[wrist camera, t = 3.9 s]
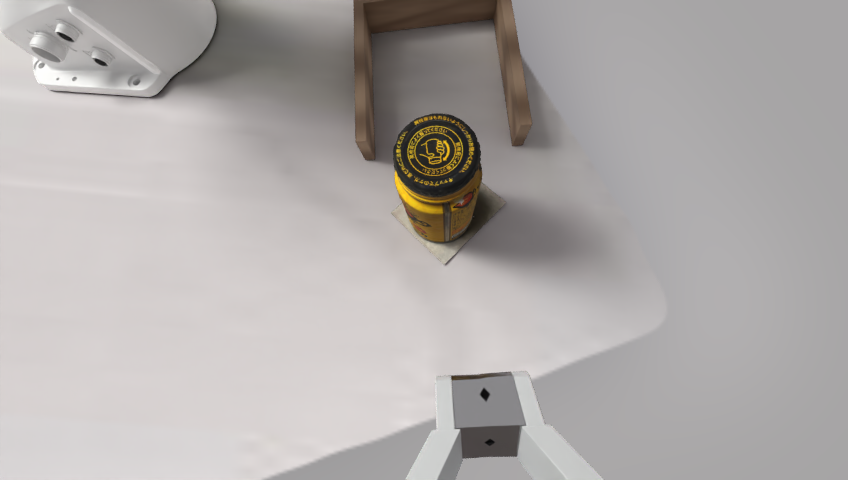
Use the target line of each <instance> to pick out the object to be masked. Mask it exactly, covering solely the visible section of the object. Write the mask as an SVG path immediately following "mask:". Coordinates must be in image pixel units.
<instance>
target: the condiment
mask: <svg viewBox="0 0 848 480" xmlns="http://www.w3.org/2000/svg"><path fill="white" fill-rule="evenodd" d="M480 155H481V151H480V145H479V142H478V141H477V137H476V135H475V133H474V131H473V130H472V129H471V128H470V127H469V126H468V125H467V124H465V123H464V122H463V121H462V120H460V119H458V118H456V117H454V116H452V115H447V114H430V115H426V116H423V117H420V118H417V119H415V120H414V121H412V122H411V123H410V124H408V125H407V126H406V127H405V128H404V129H403V130H402V131H401V132H400V134H399V135H398V139H397V142H396V144H395V146H394V149H393V157H394V158H393V160H394V167H395V184H396V188H397V191H398V193H399V196H400V199H401V200H402V203H401V204H400V205H399V206H398V207H397V208H396V209H395V210H394V211H393V212H391V214H392V215H393V216H395V218H397V219H398V220H399V222H401V223H402V224H403V225H404V226H405V227H406V228H407V229H408V230H409V231H410V232H411V233H412V234H413V235H414V236H415V237H416V238H417V239H418V240H419V241H420V242H421V243H422V244H423V245H424V246H425V247H426V248H427V249H428V250H429V251H430V252H431V253H432V254H433V255H434V256H435V257H436V258H437V259H438V260H439V261H440V262H441V263H442V264H443V265H444V264H445V263H446V262H447V261H448V260H449V259H450V258H451V257H452V256H453V255H454V254H455V253H456V252H457V251H458V250H459V249H460V248H461V247H462V246H463V245H464V244H465V243H466V242H467V241H468V240H469V239H470V238H471V237H472V236H473V235H474V234H475V233H476V232H477V231H478V230H479V229H480V228H481V227H482V226H483V225H484V224H485V223H486V222H487V221H488V220H489V219H490V218H491V217H492V216H493V215H494V214H495V213H496V212H497V211H498V210H499V209H500V208H501V207H502V206H503V205H504V204H505V203H506V202H505V201H504V200H503V199H501V198H500V197H499V196H497V195H496V194H495V193H494V192H493V191H491V190H490V189H489V188H488V187H487V186H486V185H484V184H483V183H482V182H481V181H482V168H481V164H480V160H481V158H480ZM473 216H474V217H473Z"/></svg>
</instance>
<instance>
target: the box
mask: <svg viewBox="0 0 848 480" xmlns="http://www.w3.org/2000/svg"><path fill="white" fill-rule="evenodd" d="M488 19H493V20H494V26H495V33H496V40H497V47H498V53H499V60H500V67H501V73H502V80H503V87H504V94H505V100H506V107H507V114H508V120H509V127H510V134H511V141H512V146H518V145H523V143H524V140H525V138H526V136H527V134H528V132H529V130H530V128H531V125H532V120H531V114H530V108H529V102H528V96H527V90H526V84H525V79H524V73H523V67H522V61H521V55H520V49H519V43H518V37H517V32H516V26H515V19H514V14H513V8H512V2H511V0H354V65H355V136H356V143H357V145H358V147H359V149H360V151H361V153H362V154H363V156H364V158H365V160H372V159H375V140H374V107H373V74H372V41H371V33H379V32H387V31H396V30H404V29H412V28H421V27H429V26H437V25H446V24H454V23H462V22H471V21H479V20H488Z"/></svg>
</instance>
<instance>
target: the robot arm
mask: <svg viewBox="0 0 848 480" xmlns="http://www.w3.org/2000/svg"><path fill="white" fill-rule="evenodd" d="M216 20H217V15H216V9H215V6H214V3H213V2H212V0H0V32H1V33H2V34H3V35H4V36H5V37H7V38H8V39H9V40H10V41H12V42H13V43H14V44H16V45H17V46H19V47H20V48H22V49H23V50H25V51H26V52H28V53H29V54H31V55H32V56H33V70H34V74H35V77H36V80H37V81H38V83H39V84H40V85H42V86H43V87H45V88H47V89H48V90H55V91H69V92H84V93H99V94H113V95H128V96H143V97H151V96H154V95H156V94H157V93H159V92H160V91H161V90H162V89H163V87H164V86H165V85H166V84H167V83H168V81H169V80H170V79H171V77H173V76H174V75H175V74H176V73H178V72H179V71H181V70H182V69H184V68H185V67H187V66H188V65H190V64H191V63H192V62H193V61H194V60H195V59H197V58H198V57H199V56H200V54H201V53H202V52H203V51H204V50H205V48H206V47H207V45H208V44H209V42H210V40H211V38H212V36H213V34H214V31H215V27H216ZM451 380H452V383H451ZM435 389H436V424H437V430H432V431H431V433H430V435H429V437H428V439H427V440H426V442H425V444H424V446H423V448H422V450H421V452H420V453H419V455H418V457H417V459H416V461H415V463H414V465H413V467H412V468H411V470H410V472H409V474H408V476H407V478H406V480H455V479H456V476H457V474H458V471H459V469H460V466H461V464H462V461H463V460H462V459H463V458H479V457H510V456H511V457H517V459H518V460H519V461H520V463H521V464H522V466H523V467H524V468H525V470H526V471H527V473H528V474H529V475H530V477H531V478H532V479H533V480H603V478H602V477H601V476H600V475H599V474H598V473H597V472H596V471H595V470H594V469H593V468H592V467H591V466H590V465H589V464H588V463H587V462H586V461H585V460H584V459H583V458H582V457H581V456H580V454H579V453H578V452H577V451H576V450H574V448H573V447H572V446H571V445H570V444H569V443H568V442H567V441H566V440H565V439H564V438H563V437H562V436H561V435H560V434H559V433H558V432H557V431H556V430H555V429H554V428H553V427H552V426H551V425H545V421H544V418H543V415H542V412H541V409H540V406H539V403H538V400H537V397H536V394H535V391H534V388H533V385H532V381H531V378H530V375H529V374H528V372H527V371H520V372H500V373H486V374H474V375H454V376H451V375H448V376H436V380H435Z"/></svg>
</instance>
